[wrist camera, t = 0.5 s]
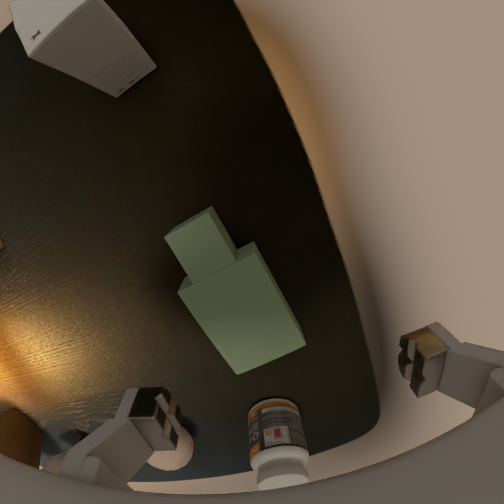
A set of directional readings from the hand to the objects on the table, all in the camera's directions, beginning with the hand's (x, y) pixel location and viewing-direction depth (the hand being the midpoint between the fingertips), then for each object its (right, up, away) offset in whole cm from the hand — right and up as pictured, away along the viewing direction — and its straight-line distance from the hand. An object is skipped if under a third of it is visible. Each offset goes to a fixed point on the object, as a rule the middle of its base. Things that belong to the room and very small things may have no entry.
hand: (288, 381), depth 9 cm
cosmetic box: (-12, +20, +9) cm, 25 cm away
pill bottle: (+1, -14, +20) cm, 24 cm away
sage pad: (-3, +2, +15) cm, 15 cm away
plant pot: (-41, -26, +22) cm, 53 cm away
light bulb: (-12, -18, +21) cm, 30 cm away
